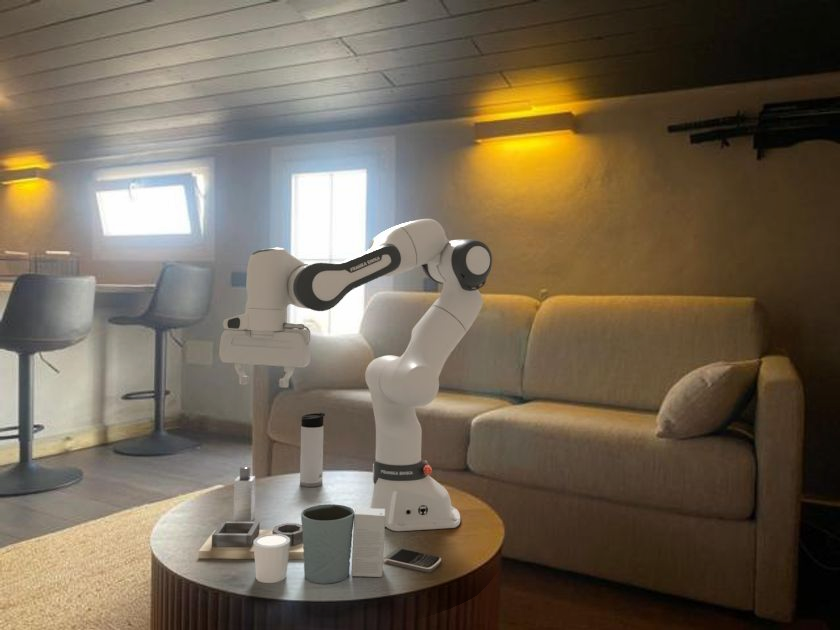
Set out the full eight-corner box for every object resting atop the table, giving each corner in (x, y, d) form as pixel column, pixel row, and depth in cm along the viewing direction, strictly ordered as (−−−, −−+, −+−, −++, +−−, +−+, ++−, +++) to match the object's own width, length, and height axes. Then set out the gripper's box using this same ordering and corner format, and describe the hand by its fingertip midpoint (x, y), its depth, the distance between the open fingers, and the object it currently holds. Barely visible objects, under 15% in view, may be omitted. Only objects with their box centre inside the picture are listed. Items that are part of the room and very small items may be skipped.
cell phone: (430, 576, 125) (430, 569, 125) (380, 564, 129) (380, 557, 129) (443, 564, 130) (443, 557, 130) (395, 553, 135) (395, 547, 135)
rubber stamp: (254, 517, 153) (255, 465, 153) (250, 523, 149) (251, 470, 149) (237, 517, 153) (238, 465, 153) (233, 523, 149) (234, 470, 149)
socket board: (315, 537, 142) (316, 519, 142) (308, 559, 130) (309, 539, 130) (215, 536, 141) (215, 518, 141) (198, 558, 129) (198, 538, 129)
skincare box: (382, 568, 126) (386, 508, 126) (382, 577, 122) (386, 515, 122) (351, 567, 126) (355, 506, 126) (350, 576, 122) (354, 514, 122)
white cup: (256, 568, 125) (256, 533, 125) (291, 568, 125) (292, 533, 125) (249, 584, 118) (249, 547, 118) (287, 584, 118) (287, 546, 118)
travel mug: (326, 485, 180) (328, 414, 180) (304, 488, 177) (305, 416, 177) (318, 479, 186) (320, 411, 185) (296, 482, 183) (298, 412, 182)
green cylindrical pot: (295, 584, 118) (296, 520, 118) (306, 562, 128) (306, 502, 128) (350, 585, 118) (351, 521, 118) (356, 563, 128) (357, 503, 128)
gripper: (316, 324, 140) (314, 387, 140) (231, 319, 144) (229, 381, 145) (304, 324, 133) (302, 390, 134) (216, 320, 138) (214, 384, 139)
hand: (263, 385), depth 139 cm, fingers open, 8 cm apart
